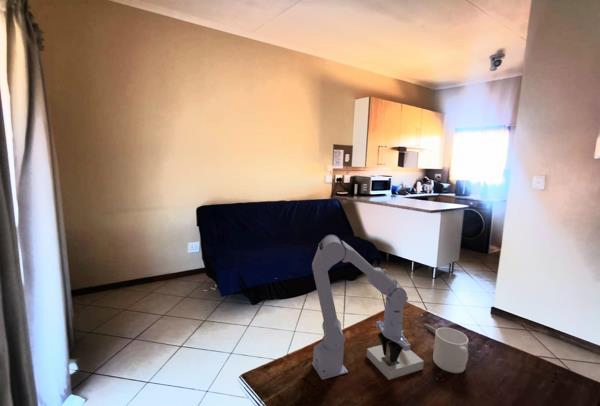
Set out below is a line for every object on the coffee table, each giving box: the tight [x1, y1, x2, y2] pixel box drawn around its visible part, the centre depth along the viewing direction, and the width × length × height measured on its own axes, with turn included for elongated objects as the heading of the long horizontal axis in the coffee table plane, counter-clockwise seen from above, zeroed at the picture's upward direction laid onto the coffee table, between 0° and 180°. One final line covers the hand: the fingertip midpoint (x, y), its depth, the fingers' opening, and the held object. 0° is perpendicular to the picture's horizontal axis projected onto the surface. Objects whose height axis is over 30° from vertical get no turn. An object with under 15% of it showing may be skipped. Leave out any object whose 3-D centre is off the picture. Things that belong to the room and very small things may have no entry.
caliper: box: [422, 323, 438, 334], centre depth 116 cm, size 20×1×6 cm, turn 11°
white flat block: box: [366, 344, 425, 381], centre depth 101 cm, size 14×12×4 cm
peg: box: [385, 341, 395, 366], centre depth 97 cm, size 3×3×7 cm
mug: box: [432, 327, 469, 374], centre depth 100 cm, size 13×10×10 cm
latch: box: [405, 336, 415, 343], centre depth 103 cm, size 2×8×1 cm
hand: (390, 358), depth 98 cm, fingers closed on peg, 3 cm apart
